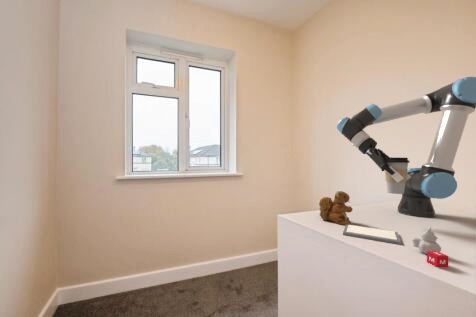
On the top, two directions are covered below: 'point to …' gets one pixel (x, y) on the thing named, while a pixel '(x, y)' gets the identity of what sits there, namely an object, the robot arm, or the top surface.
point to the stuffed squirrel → (335, 208)
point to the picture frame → (372, 234)
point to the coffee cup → (401, 168)
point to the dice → (437, 259)
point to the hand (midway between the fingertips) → (404, 179)
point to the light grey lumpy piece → (427, 242)
